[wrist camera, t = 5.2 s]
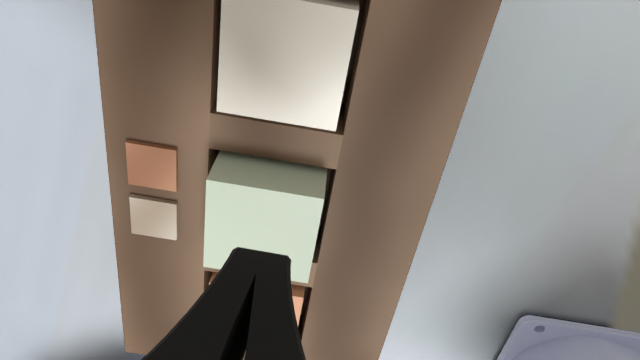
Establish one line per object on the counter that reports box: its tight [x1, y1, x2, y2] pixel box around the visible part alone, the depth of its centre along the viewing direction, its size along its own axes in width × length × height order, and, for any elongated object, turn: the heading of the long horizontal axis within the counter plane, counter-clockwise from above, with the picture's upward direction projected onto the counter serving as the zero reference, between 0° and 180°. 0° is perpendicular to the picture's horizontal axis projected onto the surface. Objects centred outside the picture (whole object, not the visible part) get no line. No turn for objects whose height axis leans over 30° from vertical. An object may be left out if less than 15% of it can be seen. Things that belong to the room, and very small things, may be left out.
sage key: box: [203, 150, 328, 283], centre depth 19 cm, size 4×4×2 cm
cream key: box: [217, 0, 359, 131], centre depth 17 cm, size 4×4×2 cm
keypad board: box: [92, 0, 502, 360], centre depth 21 cm, size 12×20×3 cm, turn 171°
